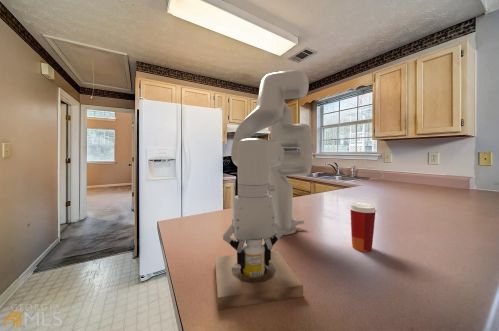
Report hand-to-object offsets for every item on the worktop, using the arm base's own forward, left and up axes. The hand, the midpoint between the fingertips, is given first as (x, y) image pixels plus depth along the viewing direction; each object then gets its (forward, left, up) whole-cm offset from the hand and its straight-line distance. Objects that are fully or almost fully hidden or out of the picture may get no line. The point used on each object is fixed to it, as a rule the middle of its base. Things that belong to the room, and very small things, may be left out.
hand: (253, 263), depth 49 cm
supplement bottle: (0, 0, -3) cm, 3 cm away
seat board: (0, 0, -4) cm, 4 cm away
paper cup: (-38, -9, -4) cm, 39 cm away
